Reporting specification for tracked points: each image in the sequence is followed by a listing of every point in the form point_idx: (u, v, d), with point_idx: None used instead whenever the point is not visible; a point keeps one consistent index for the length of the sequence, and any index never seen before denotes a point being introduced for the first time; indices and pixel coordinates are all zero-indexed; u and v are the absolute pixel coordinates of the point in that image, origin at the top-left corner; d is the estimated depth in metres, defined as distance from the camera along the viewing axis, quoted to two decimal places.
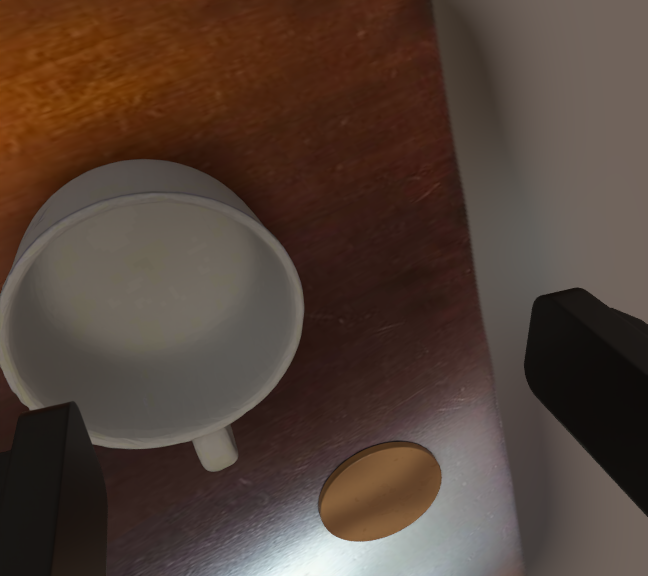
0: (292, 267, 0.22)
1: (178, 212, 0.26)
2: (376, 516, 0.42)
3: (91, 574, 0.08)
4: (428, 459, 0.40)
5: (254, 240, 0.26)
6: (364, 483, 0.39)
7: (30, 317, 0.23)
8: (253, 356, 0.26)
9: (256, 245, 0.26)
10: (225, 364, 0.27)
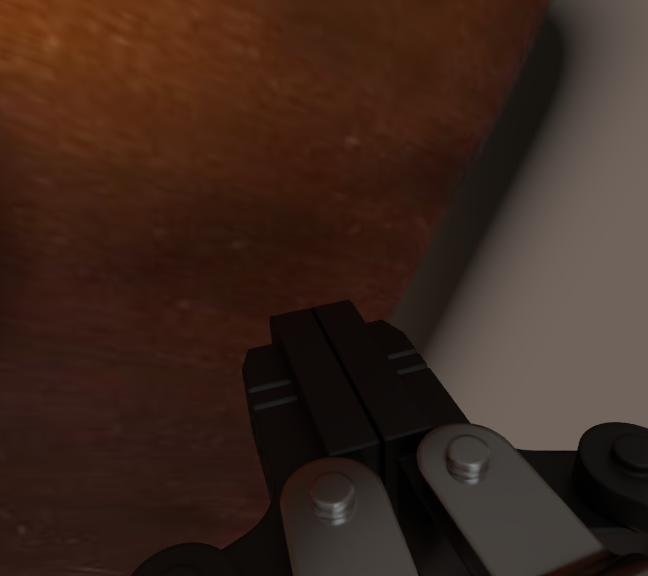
0: None
1: None
2: None
3: None
4: None
5: None
6: None
7: None
8: None
9: None
10: None
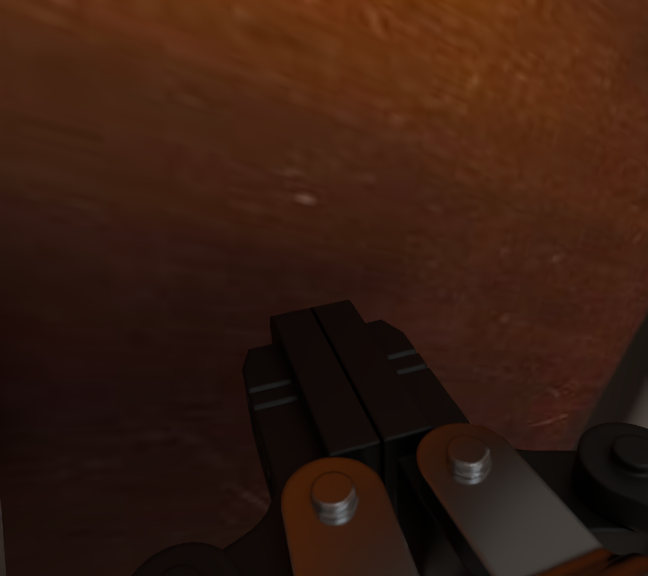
0: None
1: None
2: None
3: None
4: None
5: None
6: None
7: None
8: None
9: None
10: None
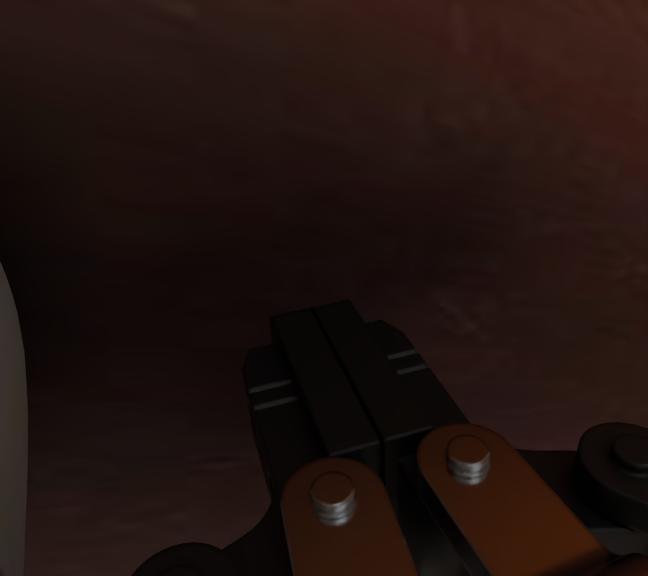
0: None
1: None
2: None
3: None
4: None
5: None
6: None
7: None
8: None
9: None
10: None
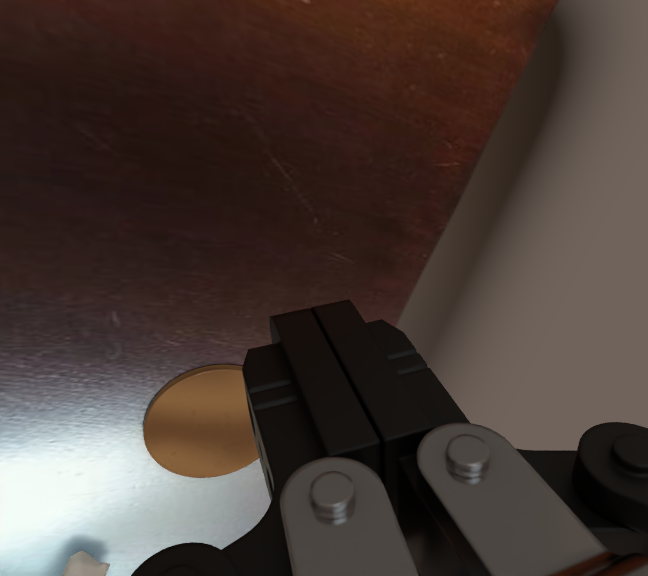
0: None
1: None
2: (194, 445, 0.38)
3: None
4: None
5: None
6: (213, 399, 0.37)
7: None
8: None
9: None
10: None
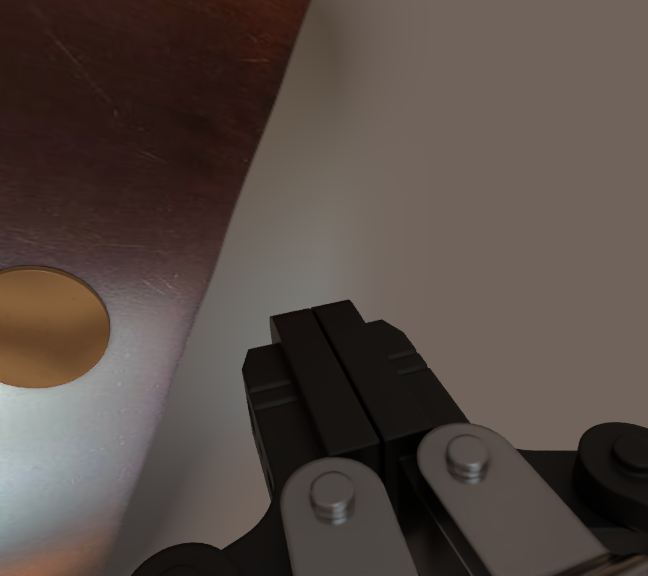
0: None
1: None
2: (13, 351, 0.38)
3: None
4: (103, 322, 0.39)
5: None
6: (26, 302, 0.36)
7: None
8: None
9: None
10: None
